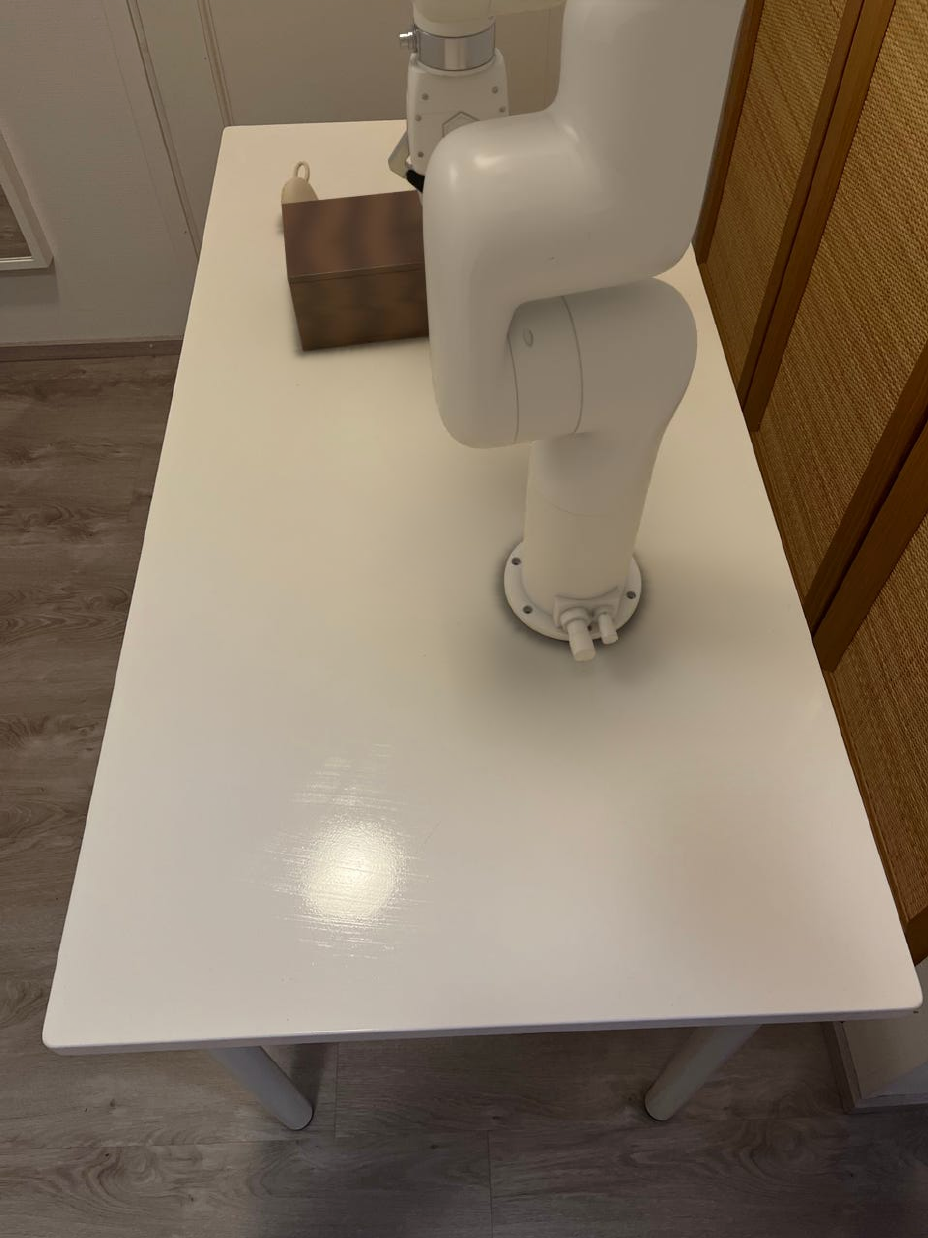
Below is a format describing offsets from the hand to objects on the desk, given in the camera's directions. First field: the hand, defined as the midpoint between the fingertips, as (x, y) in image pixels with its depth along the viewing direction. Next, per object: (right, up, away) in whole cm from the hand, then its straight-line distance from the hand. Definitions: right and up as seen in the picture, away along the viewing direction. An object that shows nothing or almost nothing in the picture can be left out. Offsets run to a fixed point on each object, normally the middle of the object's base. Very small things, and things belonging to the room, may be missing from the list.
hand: (459, 221), depth 96 cm
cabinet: (-11, -7, +7) cm, 15 cm away
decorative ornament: (-20, +8, +17) cm, 28 cm away
